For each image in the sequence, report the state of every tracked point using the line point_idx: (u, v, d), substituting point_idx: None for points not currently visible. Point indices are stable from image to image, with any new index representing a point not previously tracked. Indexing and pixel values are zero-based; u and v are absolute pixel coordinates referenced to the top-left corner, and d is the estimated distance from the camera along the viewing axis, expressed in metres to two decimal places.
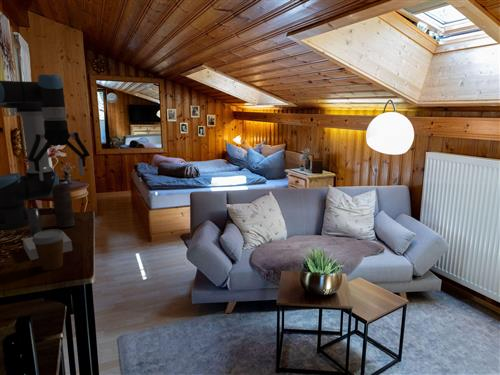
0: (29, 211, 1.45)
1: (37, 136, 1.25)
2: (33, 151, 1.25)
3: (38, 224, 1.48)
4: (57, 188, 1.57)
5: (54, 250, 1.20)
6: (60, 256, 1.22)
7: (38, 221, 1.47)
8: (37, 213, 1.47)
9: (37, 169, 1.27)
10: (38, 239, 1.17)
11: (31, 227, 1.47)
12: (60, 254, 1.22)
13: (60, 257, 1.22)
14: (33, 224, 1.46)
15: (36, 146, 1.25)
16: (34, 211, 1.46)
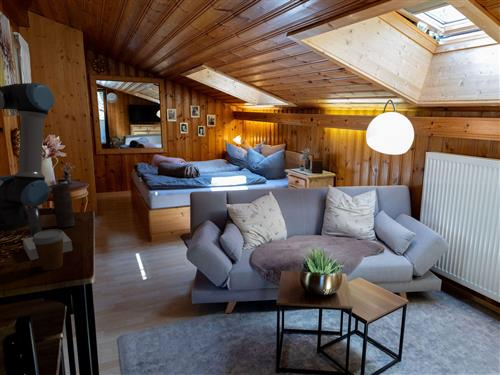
0: (29, 211, 1.45)
1: None
2: None
3: (38, 224, 1.48)
4: (57, 188, 1.57)
5: (54, 250, 1.20)
6: (60, 256, 1.22)
7: (38, 221, 1.47)
8: (37, 213, 1.47)
9: None
10: (38, 239, 1.17)
11: (31, 227, 1.47)
12: (60, 254, 1.22)
13: (60, 257, 1.22)
14: (33, 224, 1.46)
15: None
16: (34, 211, 1.46)
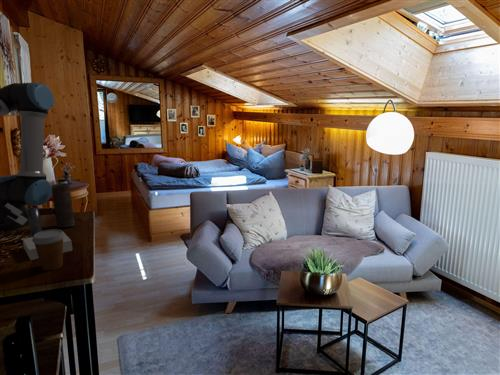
0: (29, 211, 1.45)
1: None
2: None
3: (38, 224, 1.48)
4: (57, 188, 1.57)
5: (54, 250, 1.20)
6: (60, 256, 1.22)
7: (38, 221, 1.47)
8: (37, 213, 1.47)
9: (9, 209, 1.48)
10: (38, 239, 1.17)
11: (31, 227, 1.47)
12: (60, 254, 1.22)
13: (60, 257, 1.22)
14: (33, 224, 1.46)
15: None
16: (34, 211, 1.46)
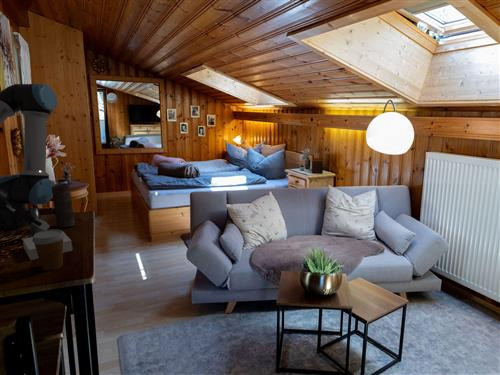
0: (29, 211, 1.45)
1: None
2: None
3: None
4: (57, 188, 1.57)
5: (54, 250, 1.20)
6: (60, 256, 1.22)
7: None
8: (37, 213, 1.47)
9: None
10: (38, 239, 1.17)
11: (31, 227, 1.47)
12: (60, 254, 1.22)
13: (60, 257, 1.22)
14: None
15: None
16: (34, 211, 1.46)
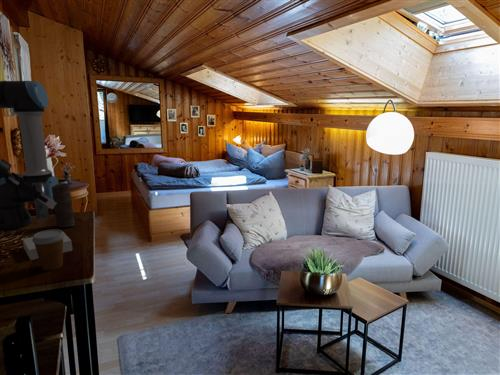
0: (34, 186, 1.31)
1: None
2: None
3: None
4: (57, 188, 1.57)
5: (54, 250, 1.20)
6: (60, 256, 1.22)
7: None
8: (43, 188, 1.32)
9: None
10: (38, 239, 1.17)
11: (36, 204, 1.32)
12: (60, 254, 1.22)
13: (60, 257, 1.22)
14: None
15: None
16: (39, 186, 1.31)
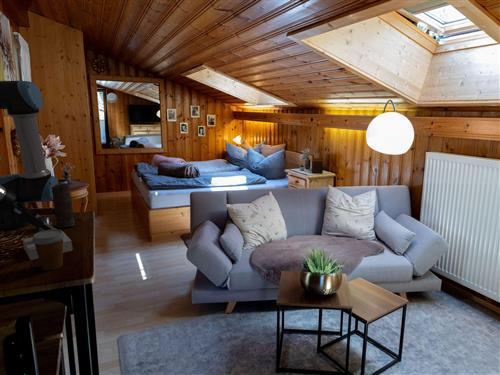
0: None
1: None
2: None
3: None
4: (57, 188, 1.57)
5: (54, 250, 1.20)
6: (60, 256, 1.22)
7: None
8: (48, 222, 1.35)
9: None
10: (38, 239, 1.17)
11: None
12: (60, 254, 1.22)
13: (60, 257, 1.22)
14: None
15: None
16: (45, 220, 1.34)
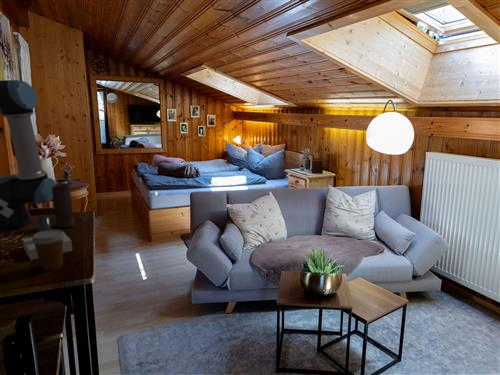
0: (39, 220, 1.34)
1: None
2: None
3: None
4: (57, 188, 1.57)
5: (54, 250, 1.20)
6: (60, 256, 1.22)
7: None
8: (48, 222, 1.35)
9: None
10: (38, 239, 1.17)
11: None
12: (60, 254, 1.22)
13: (60, 257, 1.22)
14: None
15: None
16: (45, 220, 1.34)
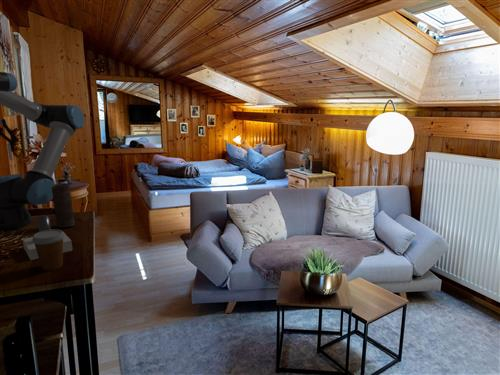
0: (39, 220, 1.33)
1: None
2: None
3: None
4: (57, 188, 1.57)
5: (54, 250, 1.20)
6: (60, 256, 1.22)
7: None
8: (48, 222, 1.35)
9: None
10: (38, 239, 1.17)
11: None
12: (60, 254, 1.22)
13: (60, 257, 1.22)
14: None
15: None
16: (45, 220, 1.34)
